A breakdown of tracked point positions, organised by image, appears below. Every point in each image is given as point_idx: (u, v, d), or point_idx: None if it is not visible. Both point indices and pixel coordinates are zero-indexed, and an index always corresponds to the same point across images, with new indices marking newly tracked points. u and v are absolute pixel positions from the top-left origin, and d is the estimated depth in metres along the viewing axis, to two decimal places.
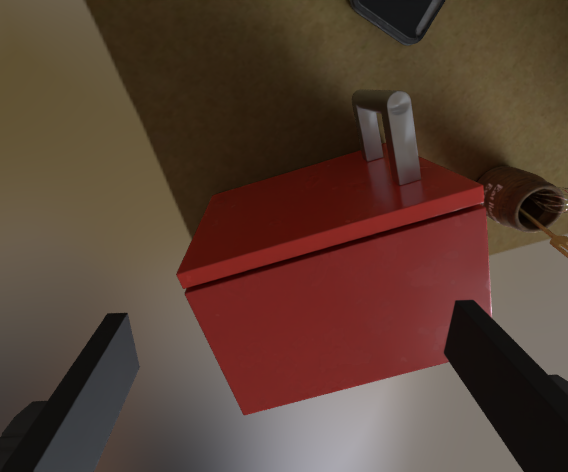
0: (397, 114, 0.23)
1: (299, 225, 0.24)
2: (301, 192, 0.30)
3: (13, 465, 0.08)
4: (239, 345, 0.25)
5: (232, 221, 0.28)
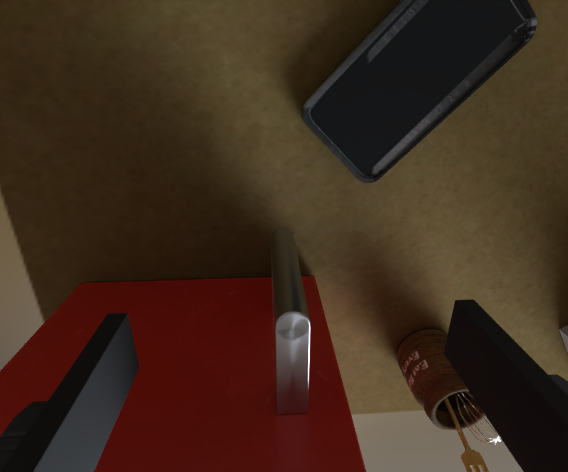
0: (288, 338, 0.16)
1: (107, 457, 0.16)
2: (166, 348, 0.22)
3: (13, 465, 0.08)
4: None
5: (48, 380, 0.20)
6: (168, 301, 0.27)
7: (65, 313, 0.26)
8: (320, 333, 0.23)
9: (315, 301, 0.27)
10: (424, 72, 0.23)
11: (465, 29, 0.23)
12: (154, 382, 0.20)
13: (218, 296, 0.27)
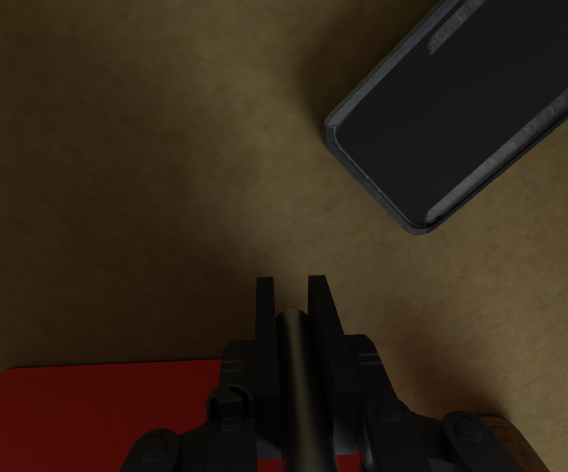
0: None
1: None
2: None
3: (261, 375, 0.10)
4: None
5: None
6: (123, 407, 0.18)
7: None
8: None
9: None
10: (515, 70, 0.15)
11: None
12: None
13: (198, 396, 0.19)
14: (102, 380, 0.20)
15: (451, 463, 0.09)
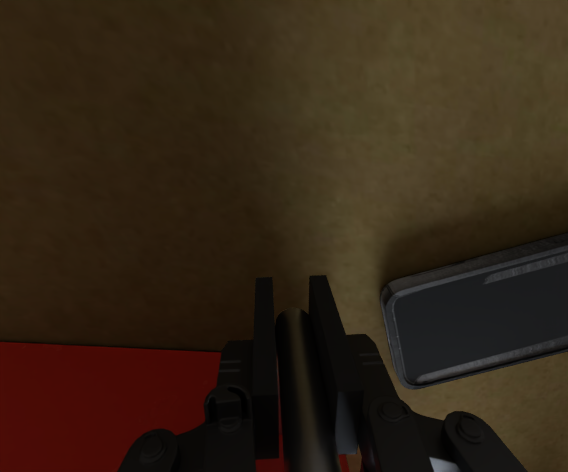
0: None
1: None
2: None
3: (259, 375, 0.10)
4: None
5: None
6: (108, 392, 0.18)
7: None
8: None
9: None
10: (525, 317, 0.20)
11: None
12: None
13: (185, 388, 0.19)
14: (86, 362, 0.19)
15: (453, 463, 0.09)
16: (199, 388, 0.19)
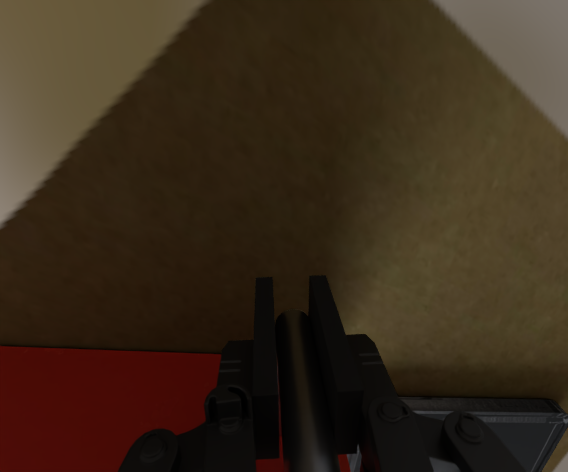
0: None
1: None
2: None
3: (260, 375, 0.10)
4: None
5: None
6: (109, 395, 0.18)
7: None
8: None
9: None
10: None
11: None
12: None
13: (186, 390, 0.19)
14: (88, 365, 0.19)
15: (453, 463, 0.09)
16: (200, 390, 0.19)
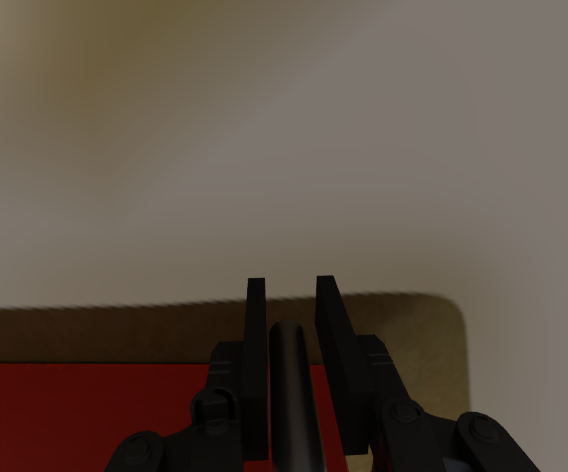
0: None
1: None
2: None
3: (248, 376, 0.10)
4: None
5: None
6: (109, 410, 0.18)
7: None
8: None
9: (329, 420, 0.18)
10: None
11: None
12: None
13: (185, 402, 0.19)
14: (88, 380, 0.20)
15: (466, 464, 0.09)
16: None
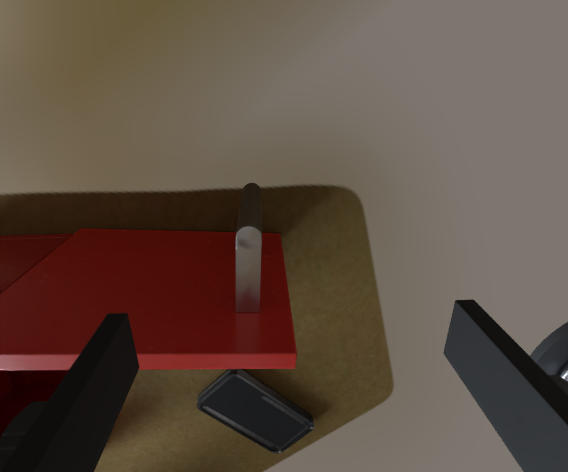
0: (244, 247, 0.21)
1: None
2: (153, 272, 0.28)
3: (13, 465, 0.08)
4: None
5: (57, 286, 0.25)
6: (156, 243, 0.32)
7: (69, 247, 0.31)
8: (278, 269, 0.29)
9: (278, 249, 0.33)
10: (257, 418, 0.46)
11: (276, 429, 0.47)
12: (142, 291, 0.25)
13: (198, 242, 0.33)
14: (141, 234, 0.34)
15: None
16: (205, 242, 0.33)
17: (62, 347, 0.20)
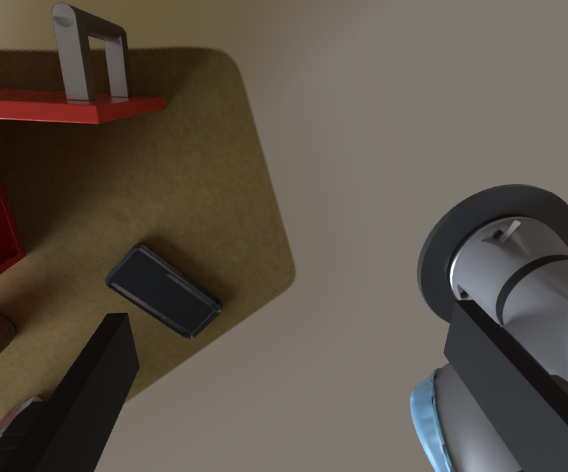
0: (61, 25, 0.24)
1: None
2: (17, 93, 0.31)
3: (13, 465, 0.08)
4: None
5: None
6: (38, 91, 0.35)
7: None
8: (136, 99, 0.32)
9: (150, 98, 0.35)
10: (165, 299, 0.49)
11: (185, 312, 0.50)
12: None
13: None
14: (30, 90, 0.37)
15: None
16: None
17: None
